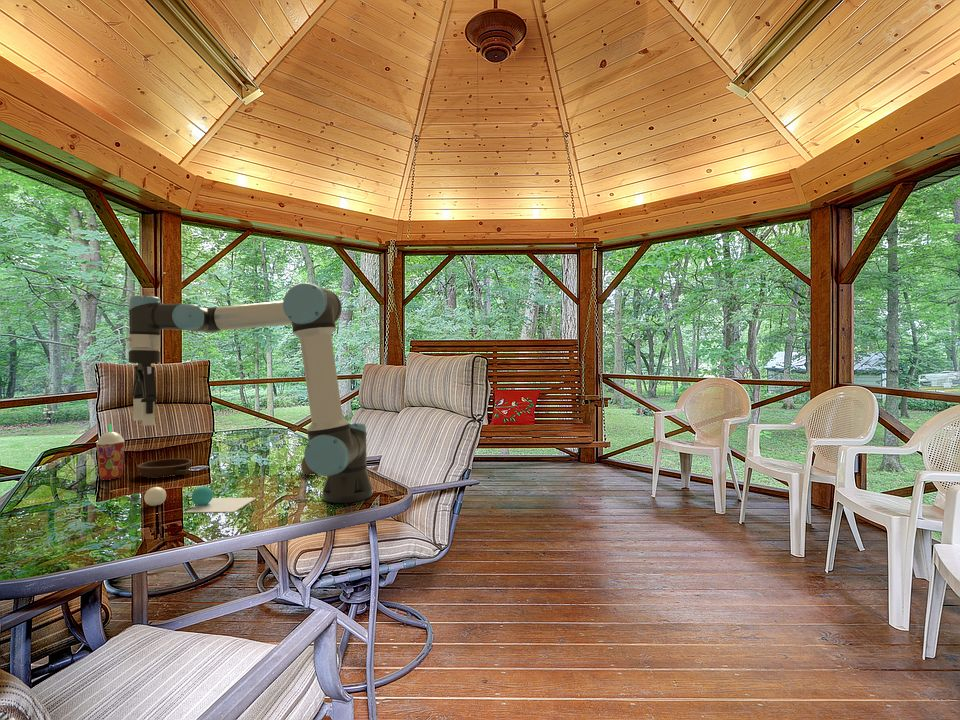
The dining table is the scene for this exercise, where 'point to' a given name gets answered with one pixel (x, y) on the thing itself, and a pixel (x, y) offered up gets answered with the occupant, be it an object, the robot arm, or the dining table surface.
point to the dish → (164, 467)
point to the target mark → (222, 505)
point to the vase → (306, 468)
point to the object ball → (202, 496)
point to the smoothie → (110, 455)
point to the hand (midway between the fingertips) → (143, 422)
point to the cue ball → (155, 496)
